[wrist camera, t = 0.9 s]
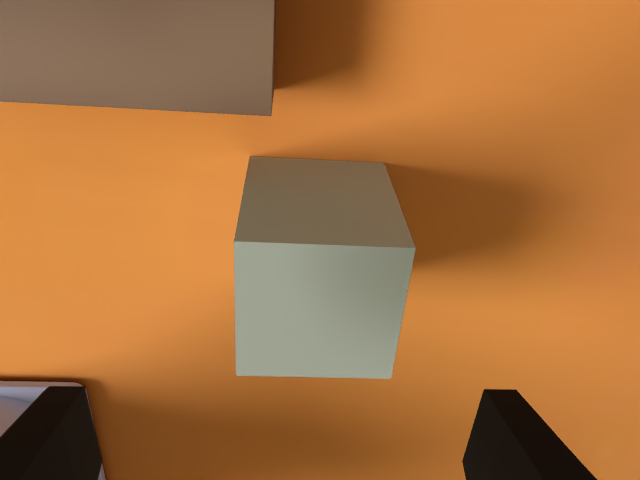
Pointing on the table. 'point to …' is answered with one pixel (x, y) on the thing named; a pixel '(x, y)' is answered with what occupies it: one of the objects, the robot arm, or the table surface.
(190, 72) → the walnut base
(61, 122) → the table surface
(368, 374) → the sage cube
